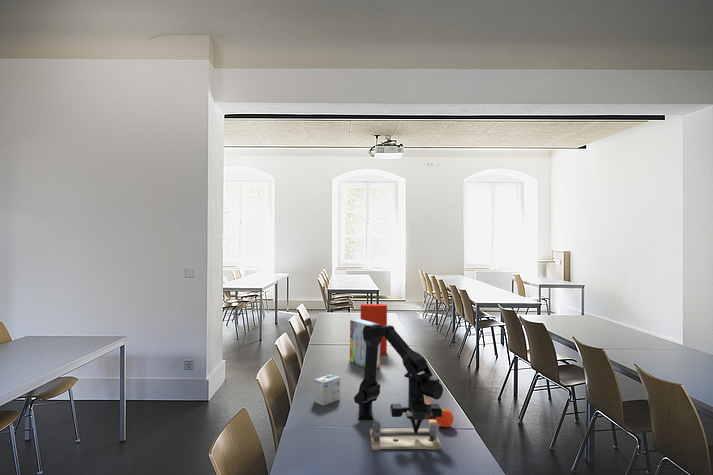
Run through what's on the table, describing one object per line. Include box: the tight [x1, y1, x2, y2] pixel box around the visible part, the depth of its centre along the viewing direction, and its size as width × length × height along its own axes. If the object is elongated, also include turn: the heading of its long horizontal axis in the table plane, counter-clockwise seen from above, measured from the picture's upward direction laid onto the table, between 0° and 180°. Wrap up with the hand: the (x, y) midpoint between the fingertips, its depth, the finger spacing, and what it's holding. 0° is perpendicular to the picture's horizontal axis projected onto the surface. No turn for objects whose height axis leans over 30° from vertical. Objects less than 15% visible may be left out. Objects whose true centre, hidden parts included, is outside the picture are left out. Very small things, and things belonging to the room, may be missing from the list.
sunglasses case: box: [424, 395, 436, 420], centre depth 181 cm, size 18×7×7 cm
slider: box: [428, 419, 438, 440], centre depth 153 cm, size 4×3×6 cm, turn 1°
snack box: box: [349, 318, 381, 369], centre depth 248 cm, size 22×9×26 cm, turn 34°
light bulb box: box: [314, 373, 341, 406], centre depth 191 cm, size 11×7×11 cm, turn 135°
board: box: [369, 419, 443, 451], centre depth 154 cm, size 14×25×7 cm, turn 92°
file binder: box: [360, 303, 388, 356], centre depth 273 cm, size 8×17×32 cm, turn 88°
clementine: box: [435, 408, 454, 428], centre depth 165 cm, size 8×7×7 cm
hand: (415, 433), depth 153 cm, fingers closed
